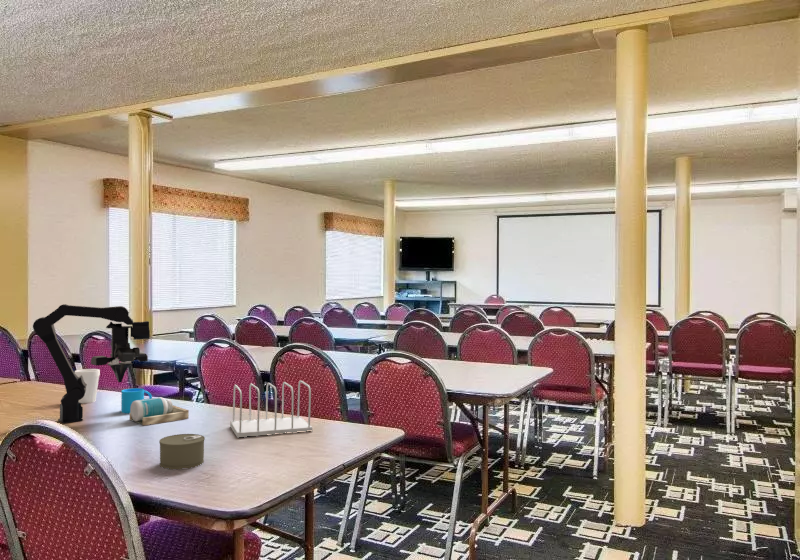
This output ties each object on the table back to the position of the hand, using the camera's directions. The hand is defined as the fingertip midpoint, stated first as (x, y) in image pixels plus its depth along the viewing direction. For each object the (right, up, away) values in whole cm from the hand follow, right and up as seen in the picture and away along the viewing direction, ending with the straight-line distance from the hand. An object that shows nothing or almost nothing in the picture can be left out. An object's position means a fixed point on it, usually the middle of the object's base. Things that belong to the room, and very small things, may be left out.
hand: (119, 382), depth 233 cm
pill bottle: (+9, -9, -8) cm, 15 cm away
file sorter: (+60, -14, -17) cm, 63 cm away
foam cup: (-26, -13, +29) cm, 41 cm away
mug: (+1, -13, +13) cm, 19 cm away
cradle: (+15, -13, -3) cm, 20 cm away
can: (+43, -14, -57) cm, 73 cm away
